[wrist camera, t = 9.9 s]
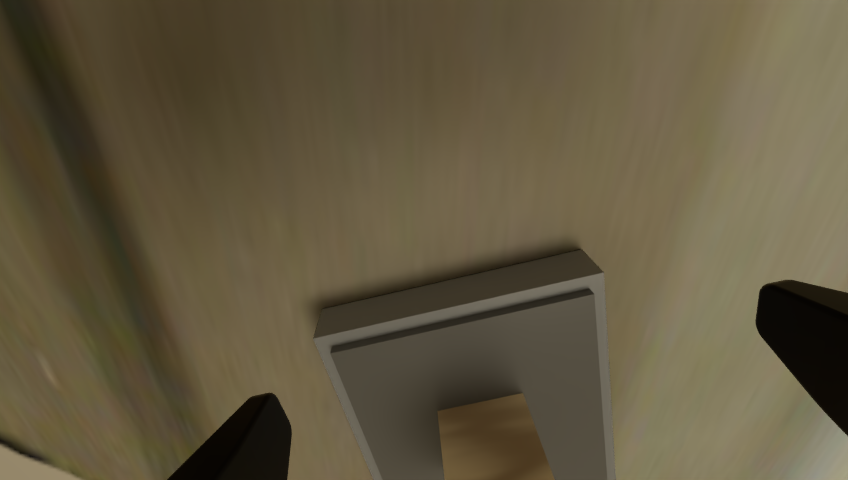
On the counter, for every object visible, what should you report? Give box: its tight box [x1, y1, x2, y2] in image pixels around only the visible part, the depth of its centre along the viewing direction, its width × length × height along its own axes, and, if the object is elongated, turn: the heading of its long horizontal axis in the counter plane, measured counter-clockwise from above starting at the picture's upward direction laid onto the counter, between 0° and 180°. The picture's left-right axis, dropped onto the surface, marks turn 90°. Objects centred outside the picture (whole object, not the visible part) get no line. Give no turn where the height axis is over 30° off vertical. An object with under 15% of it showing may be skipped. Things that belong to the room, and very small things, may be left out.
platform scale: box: [313, 250, 616, 480], centre depth 23 cm, size 14×16×3 cm
